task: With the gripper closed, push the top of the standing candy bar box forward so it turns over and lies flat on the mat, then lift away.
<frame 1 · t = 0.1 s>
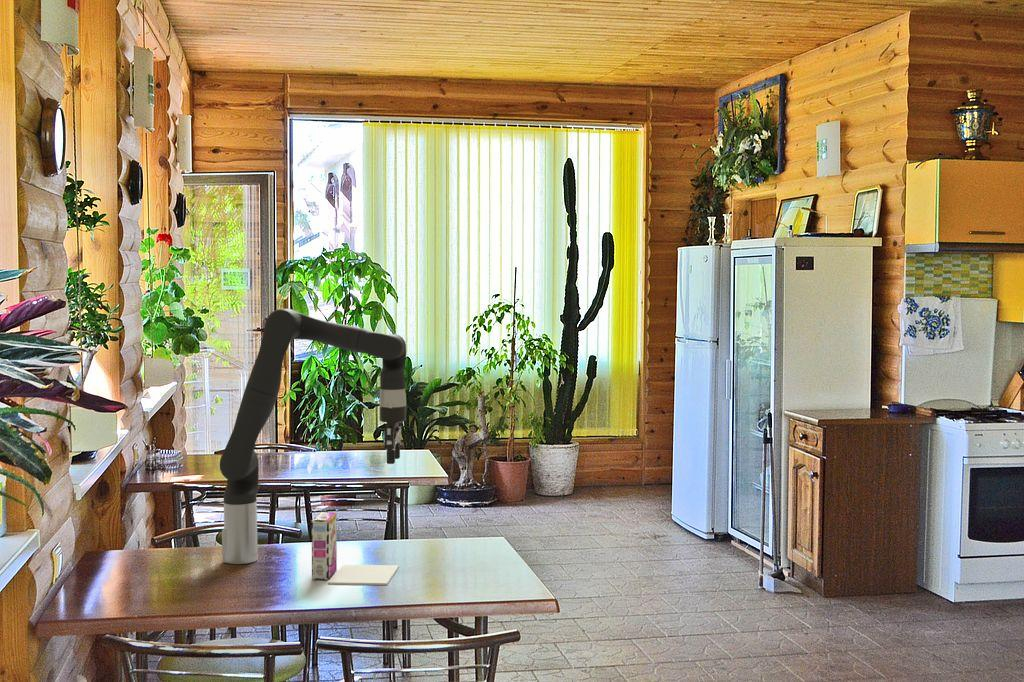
hand: (393, 461, 308), 29 cm above the table, fingers open, 8 cm apart
mat: (364, 575, 296), on the table
candy bar box: (324, 575, 297), on the table
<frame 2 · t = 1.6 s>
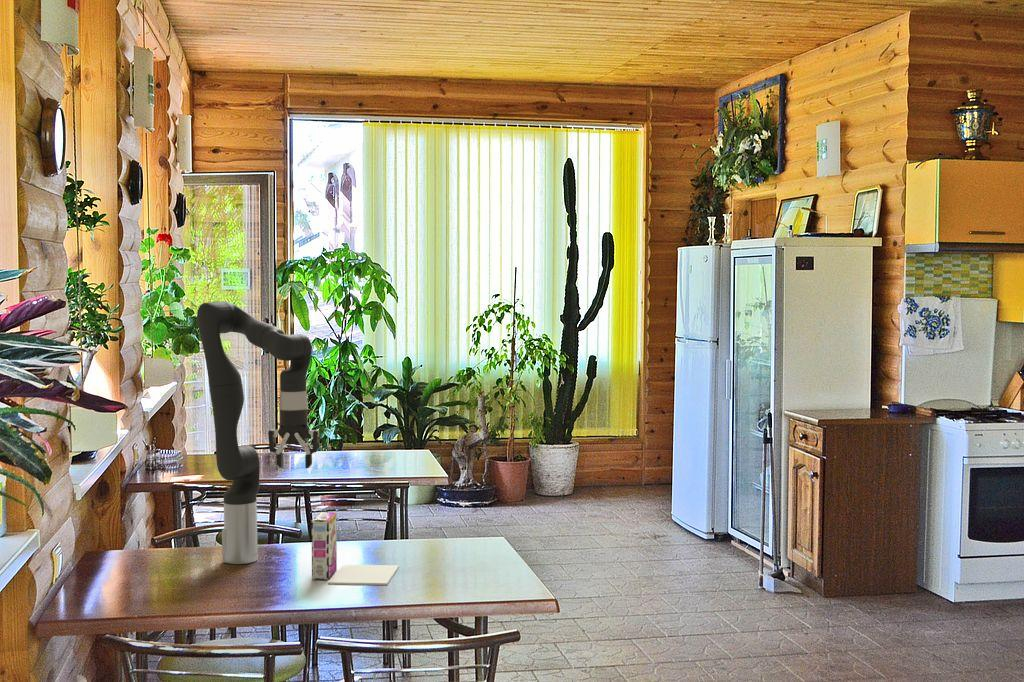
hand: (294, 467, 296), 30 cm above the table, fingers open, 7 cm apart
nothing on the table moved.
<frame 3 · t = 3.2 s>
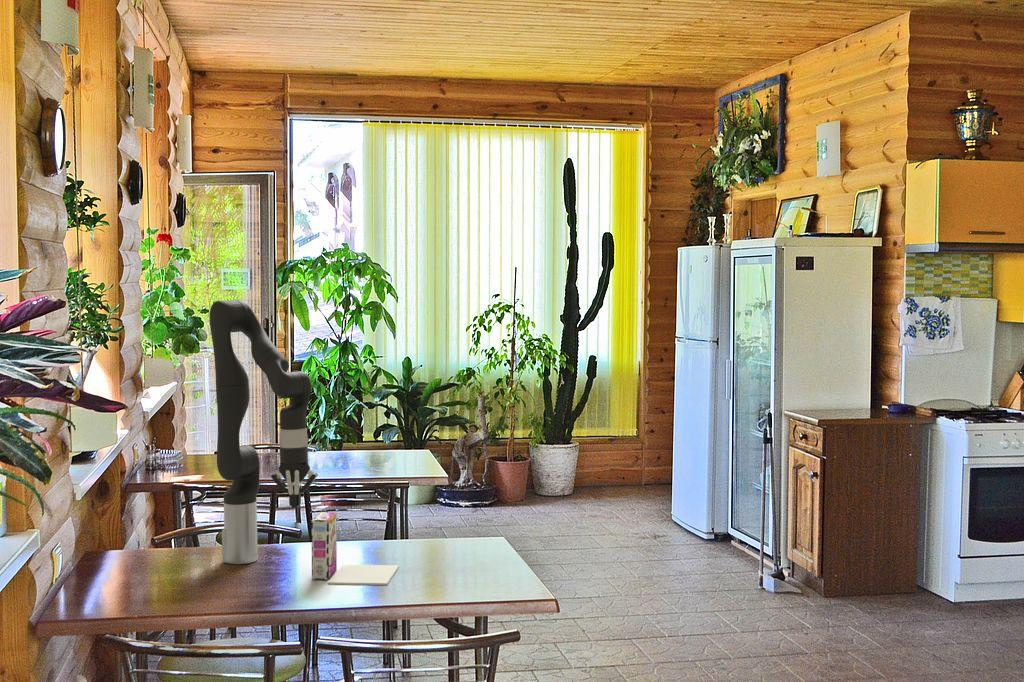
hand: (295, 507, 296), 19 cm above the table, fingers closed
nothing on the table moved.
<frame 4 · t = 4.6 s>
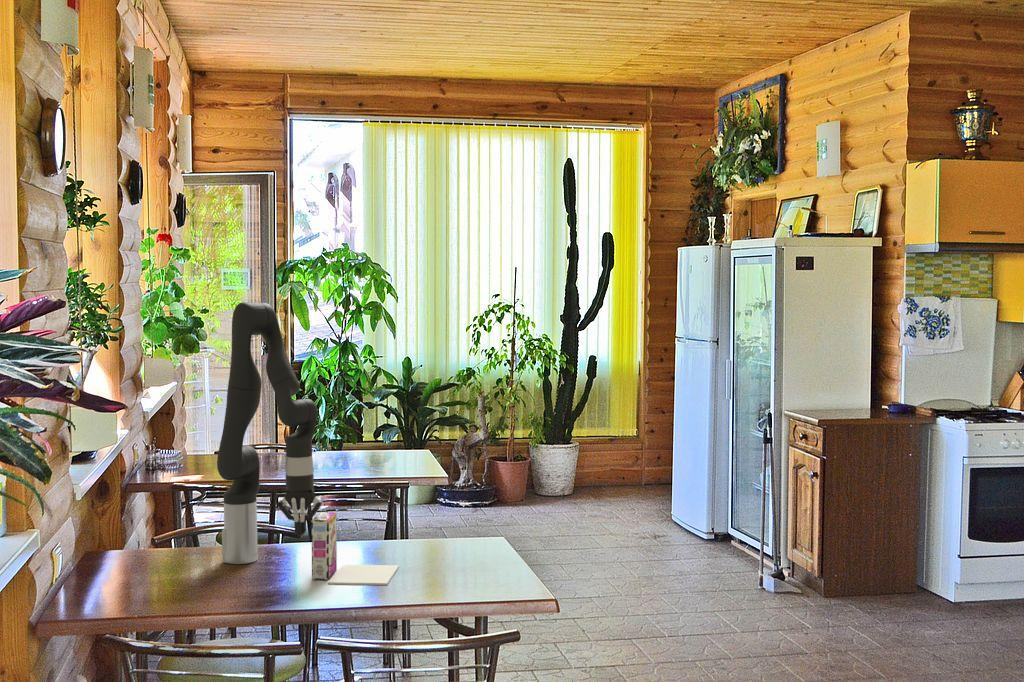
hand: (300, 534, 297), 11 cm above the table, fingers closed
nothing on the table moved.
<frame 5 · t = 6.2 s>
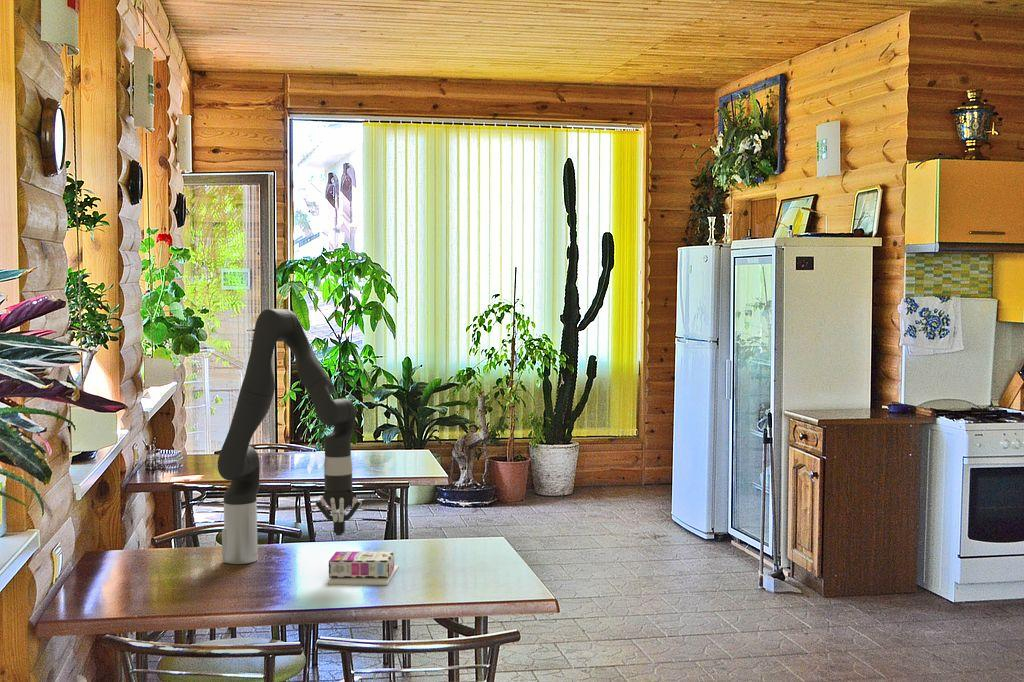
hand: (339, 534, 296), 11 cm above the table, fingers closed
candy bar box: (331, 564, 296), point 3 cm above the table, touching mat
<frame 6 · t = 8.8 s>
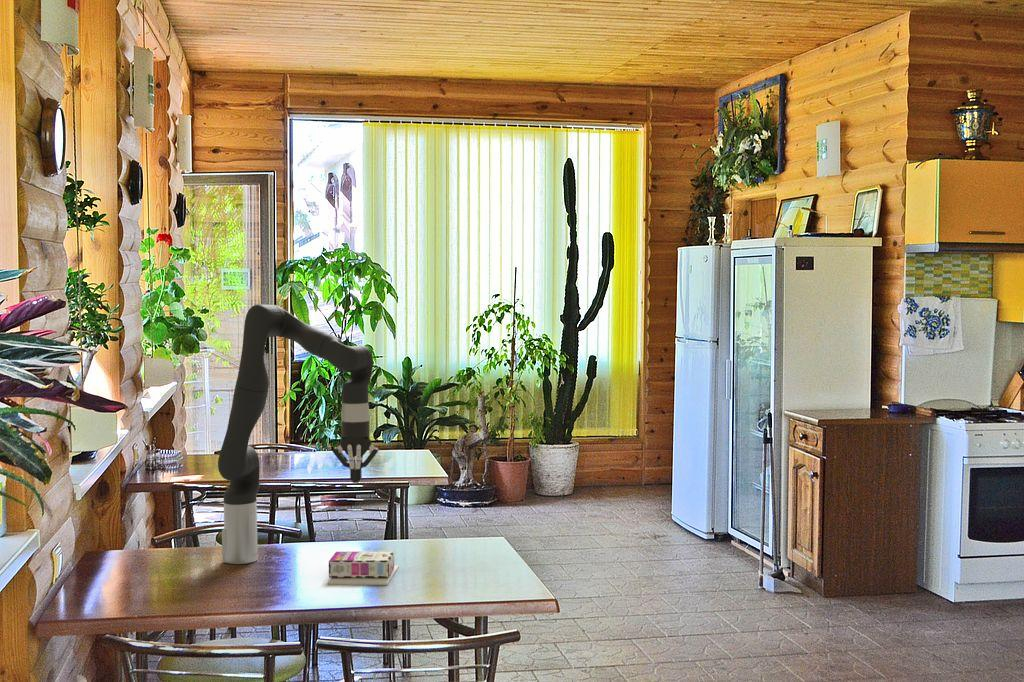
hand: (356, 482, 295), 26 cm above the table, fingers closed
nothing on the table moved.
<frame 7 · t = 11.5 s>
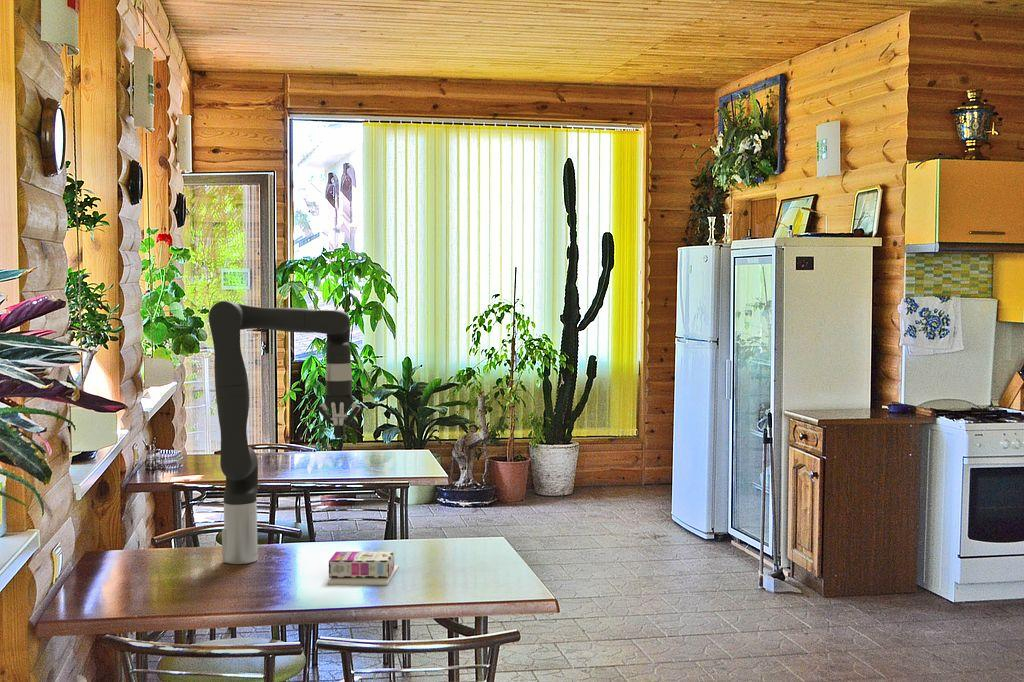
hand: (339, 437, 315), 35 cm above the table, fingers closed
nothing on the table moved.
at the end: candy bar box tilted 89°; candy bar box inside the target area (4.1 cm from its centre), point 2.8 cm above the table; candy bar box touching mat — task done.
